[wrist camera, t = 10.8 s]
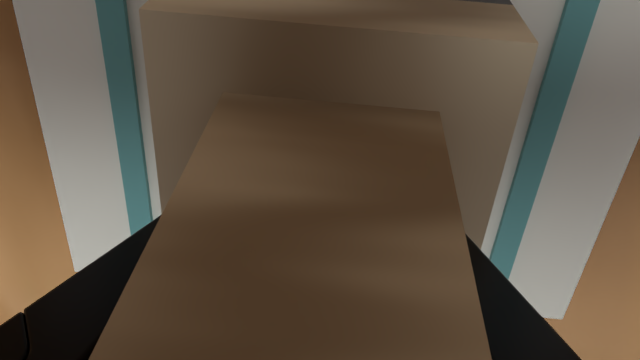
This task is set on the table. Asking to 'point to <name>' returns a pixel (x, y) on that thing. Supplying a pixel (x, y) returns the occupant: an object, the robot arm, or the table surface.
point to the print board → (516, 181)
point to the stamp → (321, 178)
